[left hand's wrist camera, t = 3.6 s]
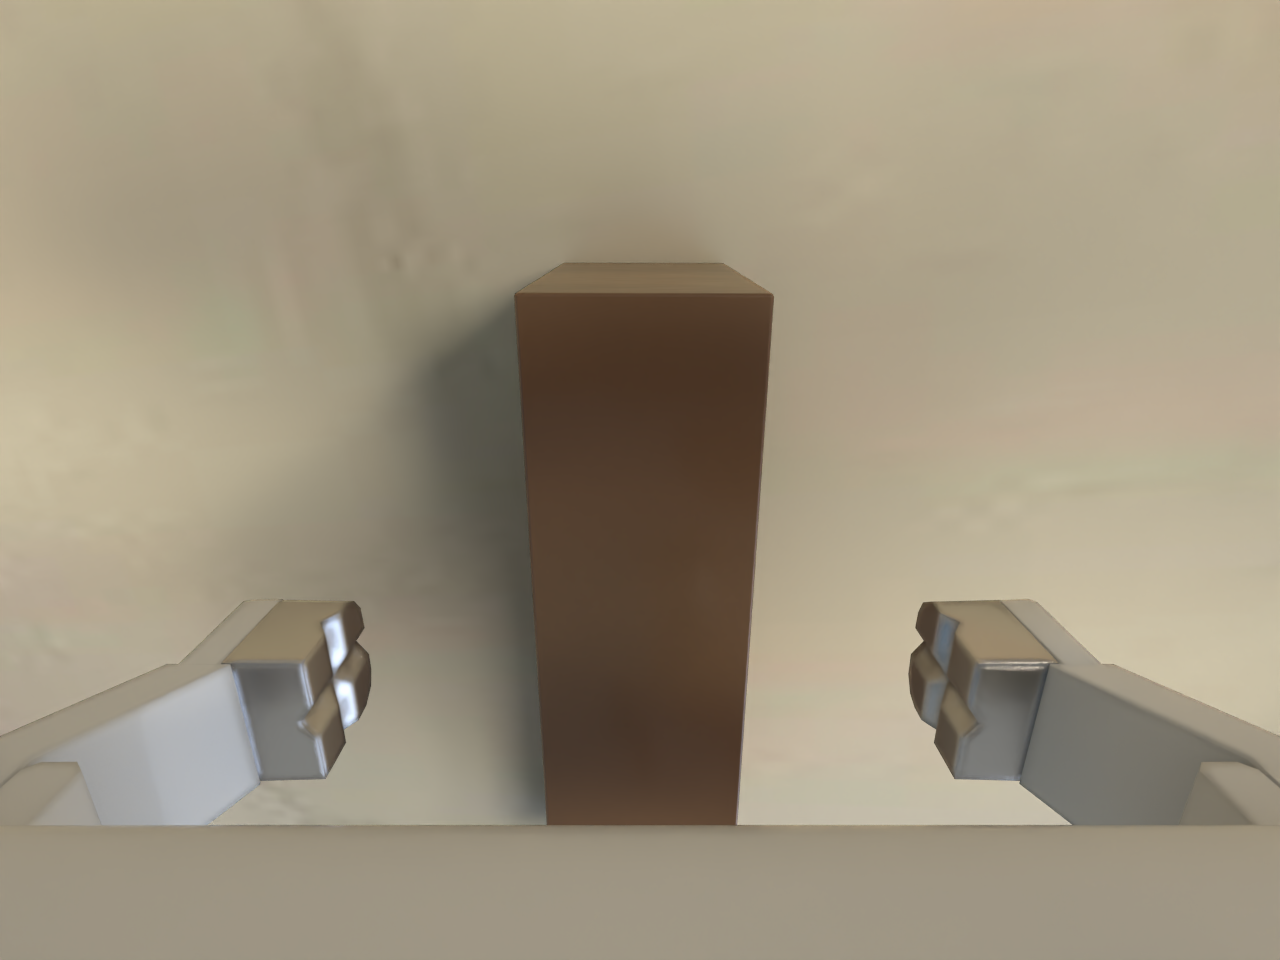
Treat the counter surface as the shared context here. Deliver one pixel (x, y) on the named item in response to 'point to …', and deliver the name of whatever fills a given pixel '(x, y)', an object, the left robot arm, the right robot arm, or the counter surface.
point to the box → (643, 532)
